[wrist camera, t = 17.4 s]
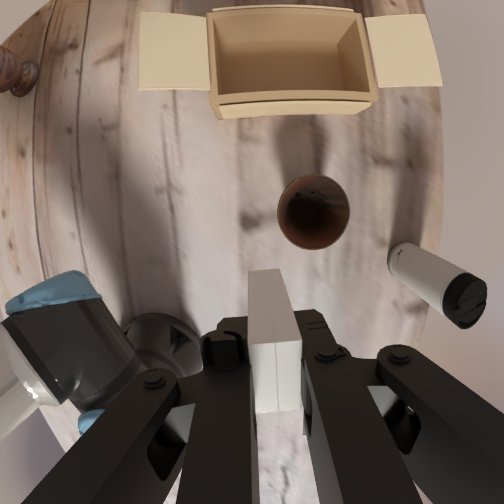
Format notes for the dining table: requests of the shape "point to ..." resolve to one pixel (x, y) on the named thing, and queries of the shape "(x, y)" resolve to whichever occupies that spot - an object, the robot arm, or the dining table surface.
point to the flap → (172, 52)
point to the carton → (288, 61)
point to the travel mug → (439, 283)
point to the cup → (313, 212)
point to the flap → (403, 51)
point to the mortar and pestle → (16, 73)
